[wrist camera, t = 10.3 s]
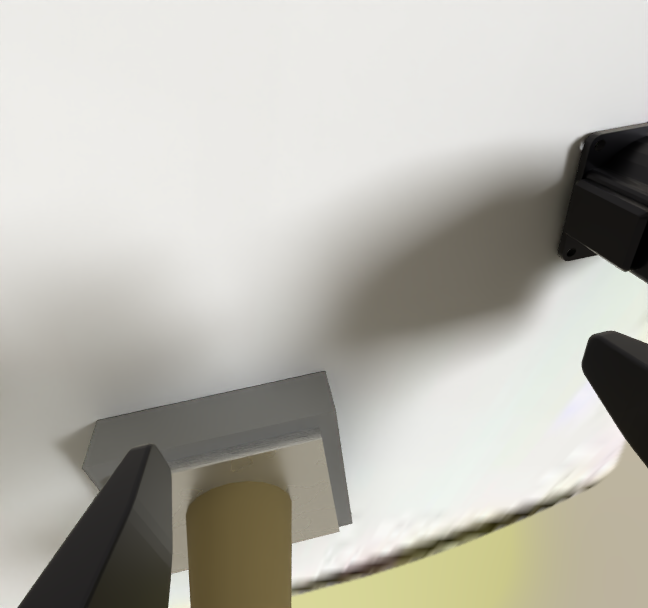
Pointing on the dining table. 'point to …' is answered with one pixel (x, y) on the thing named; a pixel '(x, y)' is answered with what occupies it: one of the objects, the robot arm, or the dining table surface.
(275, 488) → the cork
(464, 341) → the dining table surface
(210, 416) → the kitchen scale
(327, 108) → the dining table surface
